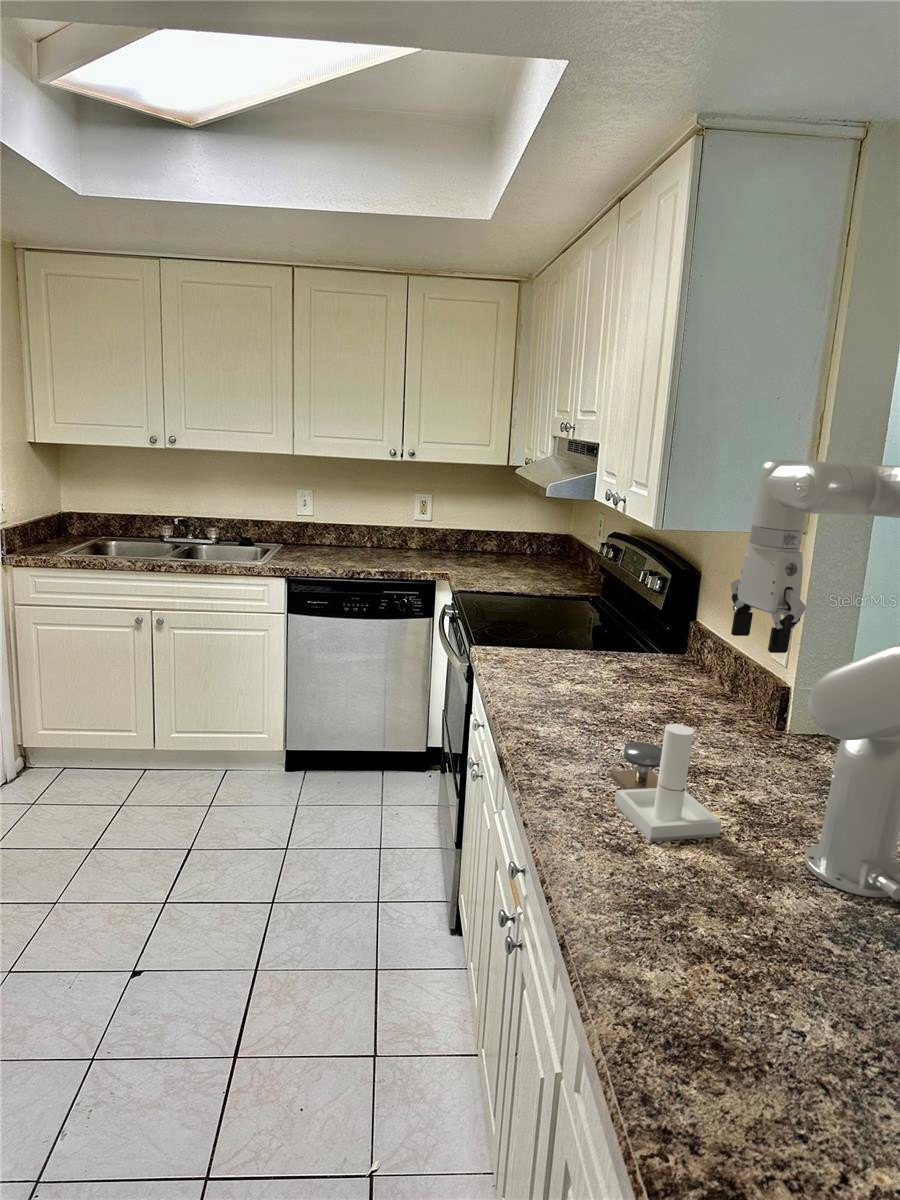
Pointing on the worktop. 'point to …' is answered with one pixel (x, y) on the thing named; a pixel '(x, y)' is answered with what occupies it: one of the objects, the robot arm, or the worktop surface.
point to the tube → (673, 773)
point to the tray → (691, 825)
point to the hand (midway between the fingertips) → (758, 643)
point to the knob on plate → (639, 766)
